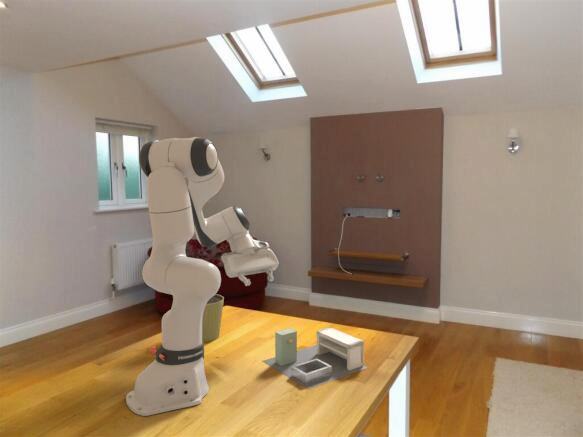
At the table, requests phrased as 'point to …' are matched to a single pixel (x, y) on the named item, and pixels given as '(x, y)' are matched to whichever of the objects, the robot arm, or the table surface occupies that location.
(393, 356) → the table surface
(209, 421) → the table surface
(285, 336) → the tall mint green pillar
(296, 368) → the hollow rectangular frame
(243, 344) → the table surface
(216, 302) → the potted cactus
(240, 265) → the robot arm
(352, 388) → the table surface
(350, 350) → the gray base with shelf
